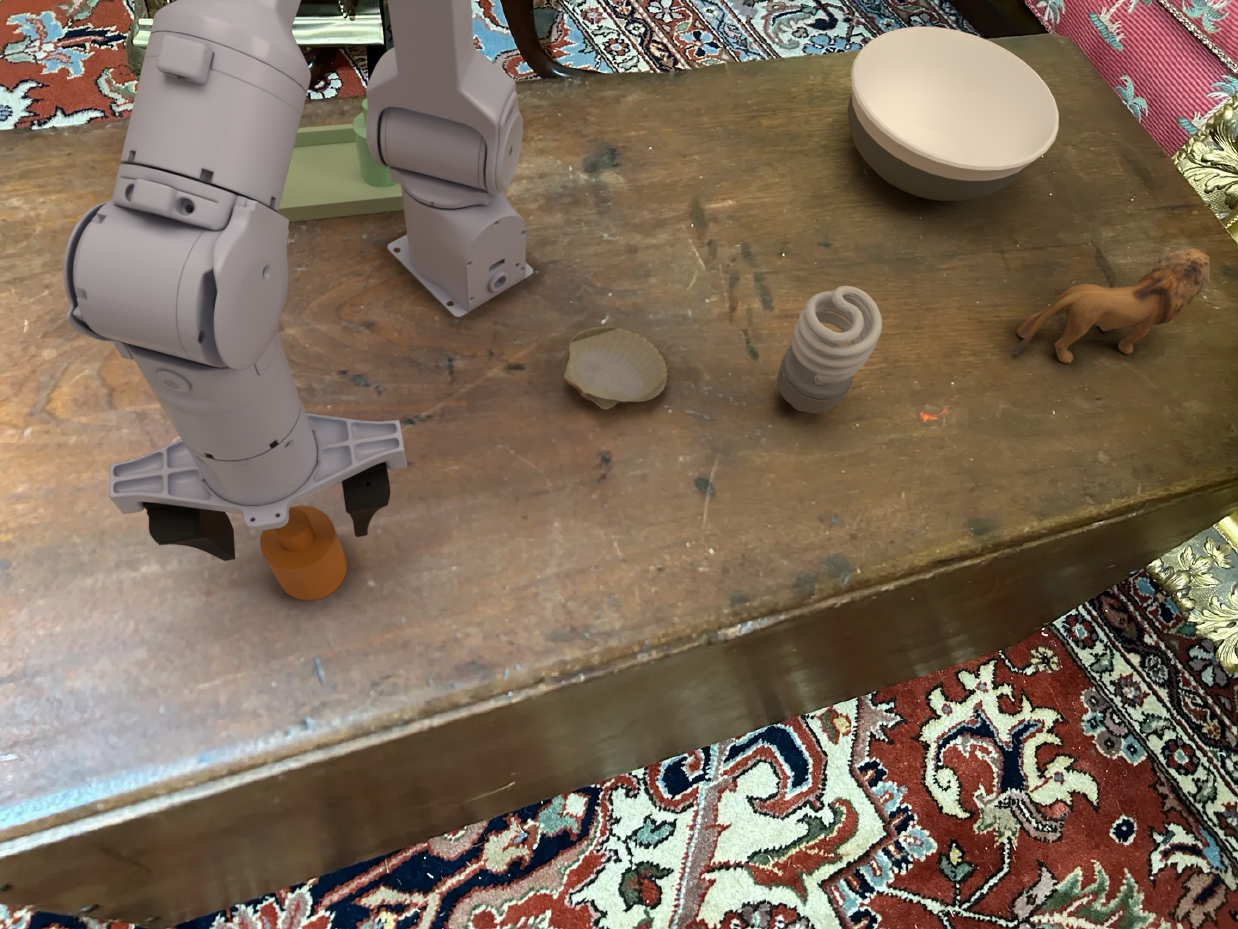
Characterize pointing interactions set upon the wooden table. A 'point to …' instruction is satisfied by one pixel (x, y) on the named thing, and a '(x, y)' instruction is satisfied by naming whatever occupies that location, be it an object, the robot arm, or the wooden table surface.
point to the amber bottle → (305, 554)
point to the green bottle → (368, 154)
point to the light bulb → (828, 348)
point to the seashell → (615, 367)
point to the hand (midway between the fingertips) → (295, 533)
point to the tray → (331, 178)
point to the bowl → (947, 113)
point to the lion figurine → (1125, 303)
